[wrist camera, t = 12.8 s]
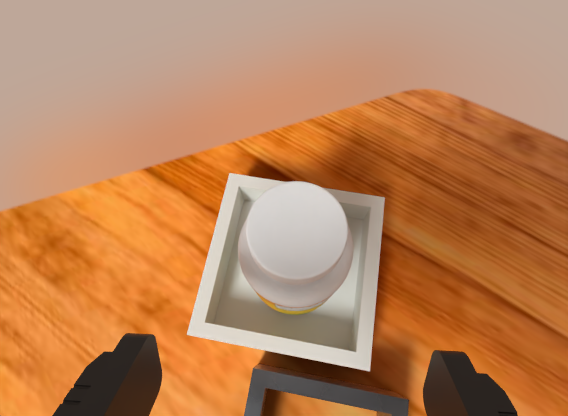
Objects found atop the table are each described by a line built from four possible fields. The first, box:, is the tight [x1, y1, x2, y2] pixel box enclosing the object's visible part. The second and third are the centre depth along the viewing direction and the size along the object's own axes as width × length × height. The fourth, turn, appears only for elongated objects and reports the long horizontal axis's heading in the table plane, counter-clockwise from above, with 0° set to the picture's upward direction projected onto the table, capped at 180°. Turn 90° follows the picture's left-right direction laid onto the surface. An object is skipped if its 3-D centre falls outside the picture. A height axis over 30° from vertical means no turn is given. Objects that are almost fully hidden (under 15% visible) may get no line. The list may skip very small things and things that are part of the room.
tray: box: [187, 173, 385, 371], centre depth 21 cm, size 10×10×3 cm
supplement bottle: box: [238, 181, 353, 315], centre depth 17 cm, size 5×5×10 cm
